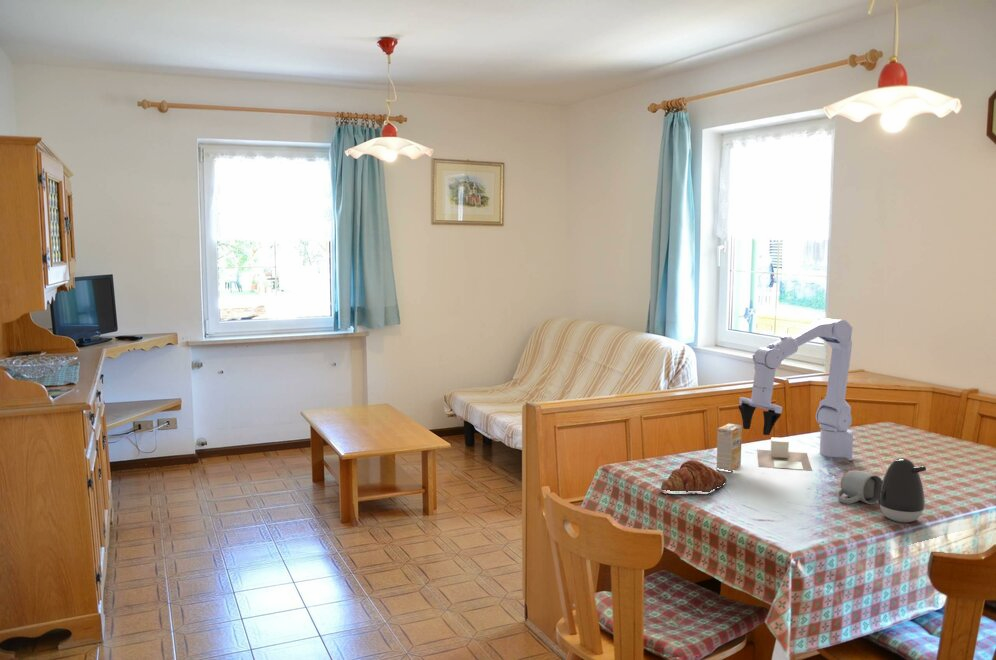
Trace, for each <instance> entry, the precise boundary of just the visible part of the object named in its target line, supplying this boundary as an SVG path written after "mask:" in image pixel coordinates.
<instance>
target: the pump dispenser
mask: <svg viewBox="0 0 996 660" xmlns="http://www.w3.org/2000/svg"><path fill="white" fill-rule="evenodd" d="M925 471H927V467H926V466H923V465H921V466H916V465H915V463H914V462H912V461H911V460H910V459H908V458H903V457H902V458H897V459H895V460H893V461H892V462H891V464H890V465H889V467H888V468H887V469H886V471H885V474H884V476H883V477H882V483H881V487H880V491H879V496H878V502H877V503H878V504H879V508H880V510H881V512H882V514H883V515H884V516H885V517H886V518H887V519H889V520H891V521H894V522H898V523H911V522H915V521H916V520H918V519H920V517H921V516H922V514H923V512H924V510H925V507H926V500H925V497H926V496H925V491H924V485H923V481H922V478H921V475H920V473H922V472H925Z"/></svg>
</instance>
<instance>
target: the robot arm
mask: <svg viewBox="0 0 996 660" xmlns="http://www.w3.org/2000/svg"><path fill="white" fill-rule="evenodd" d="M852 332H853V326H852V325H851V324H850V323H849V322H848V321H847V320H846V319H837V318H836V319H834V318H828V317H823V316H821V317H818V318H817V319H814V320H812V321H811V324H809V325H807V326H806V327H805V328H803V329H802V330H800V331H799V332H798V333H796V334H794V335H793V336H789V335H782V336H780V339H778V340H776V341H774V342H773V343H769V344H768V345H767V347H763V346H762V347H759V348H757V350H755V352H754V354H753V355H752V361H753V363H754V366H753V367H754V377H753V384H752V390H751V391H752V392H751V397H750V398H748V397H742V396H740V397H739V401H738V403H739V404H740V405H738V410H739V412H740V414H741V420H742V430H743V429H744V430H750V429H751V424H752V419H753V415H754V413H755V410H756V408H758V409H761V410H763V412H762V413H763V414H762V415H763V428H762V429H763V430H762V434H763V436H770V435H771V432H772V430H773V427H774V426H775V424H776V423H777V421H778V420H779V418H780V417H781V416H782V415H781V414H782V413H783V406H780V405H777V404H775V403H771V402H772V396H773V391H774V390H773V389H774V382H775V375H776V369H777V368H779V367H780V365H781V364H782V361H784V360H786V359H787V358H788V357H791V356H792V355H794V354H796V353H797V352H798V350H799V347H800V346H802V345H804V344H806V343H809V342H811V341H812V340H814V339H817V338H819V339H821V340H823V341H825V342H826V343H827V344H828V345H829V346H830V348H831V357H830V363H829V372H828V378H827V379H828V380H827V387H826V396H825V398H823V399H822V400H820V401H819V405H818V407H817V410H816V412H815V420H816V422H817V424H819V425H818V426H819V428H820V435H819V436H820V437H819V438H820V439H819V442H820V443H819V454H820V455H821V456H824V457H829V458H846V459H847V461H853V453H854V452H853V451H854V450H853V448H854V447H853V446H854V445H853V444H854V443H853V442H854V437H853V436H854V435H853V430H851V429H849V428H850V427H851V425H852V422H853V417H852V414H851V411H852V407H851V405H850V404H849V403H848V402H847V401H846V395H847V394H846V393H847V387H848V385H847V384H848V378H849V371H850V362H851V355H852V349H853V348H852V347H853V340H852Z"/></svg>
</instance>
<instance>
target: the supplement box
mask: <svg viewBox="0 0 996 660" xmlns="http://www.w3.org/2000/svg"><path fill="white" fill-rule="evenodd" d="M742 435H743V424H742V425H741V424H735V423H726V424H724V425H722V426H720V427H717V438H716V439H717V442H716V445H717V446H716V469H717V468H719V469H724V470H728V471H732V470H735V469H736V468H738V467H739V466H741V463H742Z"/></svg>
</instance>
